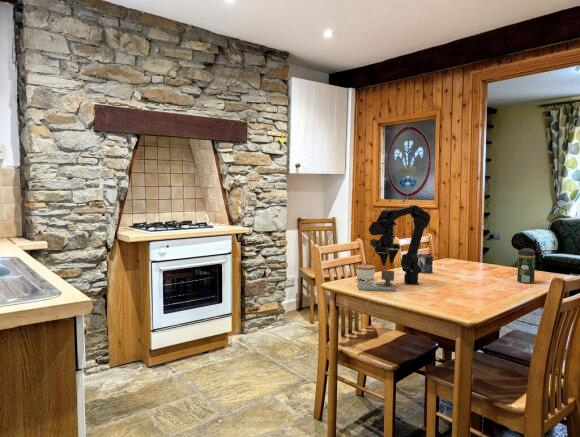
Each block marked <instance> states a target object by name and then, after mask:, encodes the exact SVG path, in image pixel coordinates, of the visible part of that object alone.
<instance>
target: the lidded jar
mask: <svg viewBox="0 0 580 437" xmlns="http://www.w3.org/2000/svg"><path fill="white" fill-rule="evenodd" d="M355 272H356V276H357V278H358V279H359V280H360V279H362V280H370V281H372V280H373V278H374V277H375V273H376V266H375V265H372V264H368V263H366V262H365V263H364V264H357V265H355ZM362 280H361V281H362Z"/></svg>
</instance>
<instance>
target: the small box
mask: <svg viewBox="0 0 580 437" xmlns="http://www.w3.org/2000/svg"><path fill="white" fill-rule="evenodd" d="M417 257H418V265H419V266H420V268H421V269H422V270H421V273H420V274H424V273H425V274H424V275H426V273H428V274H433V259H434V256H433V255H429V254H424V253H417Z"/></svg>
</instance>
